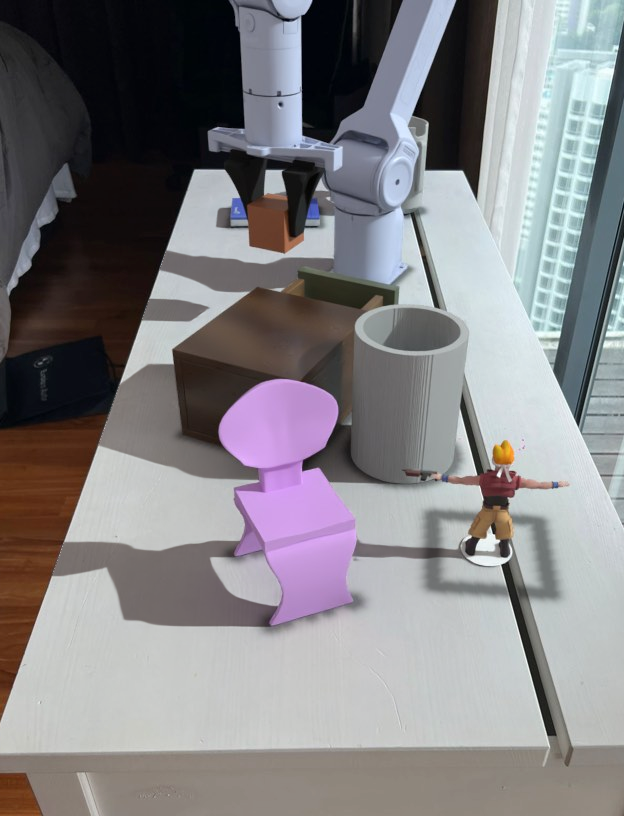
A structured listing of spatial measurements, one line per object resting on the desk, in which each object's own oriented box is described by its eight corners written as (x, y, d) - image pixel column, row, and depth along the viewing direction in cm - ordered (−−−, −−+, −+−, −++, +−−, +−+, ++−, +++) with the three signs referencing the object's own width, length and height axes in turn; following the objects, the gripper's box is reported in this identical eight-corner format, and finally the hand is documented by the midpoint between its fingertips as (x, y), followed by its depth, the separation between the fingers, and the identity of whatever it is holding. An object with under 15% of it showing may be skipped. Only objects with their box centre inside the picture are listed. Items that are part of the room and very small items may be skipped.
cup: (335, 437, 77) (337, 314, 69) (423, 418, 79) (435, 297, 72) (377, 493, 70) (385, 363, 63) (472, 469, 73) (490, 343, 65)
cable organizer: (379, 190, 131) (383, 106, 123) (433, 213, 123) (441, 124, 116) (345, 199, 127) (347, 112, 120) (399, 222, 120) (405, 132, 112)
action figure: (395, 559, 64) (403, 456, 58) (396, 534, 66) (404, 433, 60) (554, 569, 63) (579, 466, 57) (550, 544, 66) (573, 443, 60)
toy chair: (259, 635, 57) (247, 452, 48) (220, 557, 64) (203, 381, 54) (369, 602, 60) (379, 423, 50) (322, 531, 66) (322, 358, 57)
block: (269, 233, 94) (267, 192, 91) (304, 240, 92) (303, 199, 89) (249, 246, 91) (246, 204, 88) (284, 253, 89) (283, 211, 86)
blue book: (230, 216, 116) (319, 216, 117) (232, 196, 122) (317, 196, 123) (230, 227, 117) (319, 227, 118) (232, 207, 123) (317, 207, 124)
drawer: (320, 311, 95) (320, 252, 90) (410, 332, 91) (415, 271, 87) (240, 381, 82) (236, 316, 78) (341, 407, 79) (342, 341, 75)
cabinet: (260, 366, 87) (257, 286, 81) (368, 393, 83) (371, 311, 77) (181, 435, 76) (171, 349, 71) (300, 469, 73) (298, 381, 67)
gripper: (186, 89, 81) (199, 230, 90) (320, 108, 77) (319, 254, 85) (225, 75, 86) (233, 210, 95) (353, 92, 82) (349, 233, 90)
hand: (276, 230), depth 91 cm, fingers closed on block, 4 cm apart
